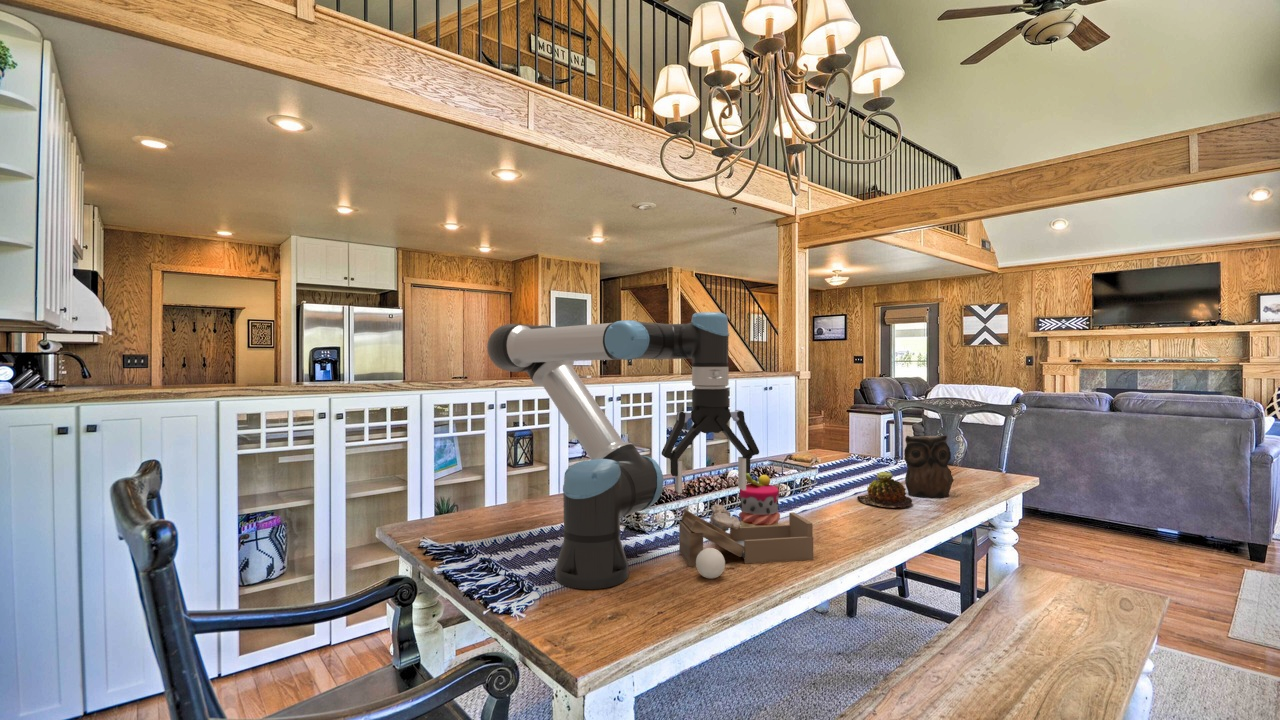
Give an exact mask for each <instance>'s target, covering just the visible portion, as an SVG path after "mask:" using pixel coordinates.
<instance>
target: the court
mask: <svg viewBox="0 0 1280 720" xmlns="http://www.w3.org/2000/svg"><path fill="white" fill-rule="evenodd" d="M788 514H789V515H788V516H789V517H788V520H789V521H788V523H789V524H778V525H772V526H753V527H741V526H740V527H739V528H738V529H734V528H729V534H731V535H732V538H731V539H732V540H733V541H735V542H737V543H739V544H741V545H743V546H744V547H745V550H744V552H743V554H742V556H741V557H742V559H744V560H743V562H744V564H745V565H746V564H748V565H749V564H761V563H763V564H764V563H776V562H777V563H778V562H779V563H780V562H793V561H794V562H795V561H797V562H798V561H809V560H810V561H811V560H814V536H813V522H811V521H809V520H808V519H805V518H804V517H803V516H801V515H799V514H797V512H789V513H788Z"/></svg>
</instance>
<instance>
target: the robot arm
mask: <svg viewBox="0 0 1280 720" xmlns="http://www.w3.org/2000/svg"><path fill="white" fill-rule="evenodd" d="M728 320H729V319H728V316H727V314H725V313H723V312H714V311H713V312H709V311H708V312H707V311H706V312H702V311H701V312H695V313H693V314H692V316H691V321H690V322H688V323H659V322H644V321H636V320H633V319H624V320H618V321H615V322H609V323H608V322H607V323H593V324H591V323H590V324H581V325H569V326H556V327H555V326H551V325H549V324H548V325H547V324H541V325H537V324H536V325H535V324H523V323H522V324H521V323H519V324H518V323H507V324H504V325H500V326H498V327H497V328H495V330H494V331H492V333H491V334H490V335H489V337H488V340H487V346H486V347H487V351H486V352H487V354H488V358H489V359H490V361H491V362H492V364H493V365H495V366H496V367H497V368H499V369H501V370H503V371H506V372H513V373H516V372H517V373H519V372H521V373H523V372H525V373H527V375H528V377H529V378H530V379H531V381H532V383H533V385H535V386H538V387H543V389H544V390H545V392H546V393H547V394H548V396H549V397H550V399H551V400H552V402H553V404H554V405H555V406H556V408H557V410H558V411H559V413H560V414H561V416H562V417H563V419H564V420H565V421H566V424H567V425H568V427H569V428H570V430H571V432H572V434H573V435H574V436H575V437H576V439H577V441H578V442H579V444H580V445H581V446H582V449H583V450H584V451H585V452H586V455H587V456H588V457H589V459H590V460H588V459H587V460H582V461H579V462H575V463H574V464H572V465H569V467H567V469H566V470H565V472H564V476H563V477H564V478H563V485H562V492H563V494H562V495H563V542H562V545H561V548H560V551H559V554H558V557H557V560H556V563H555V564H556V565H555V571H554V572H555V578H554V579H555V580H556V582H558V583H559V584H560V585H562V586H564V587H568V588H571V589H578V590H579V589H580V590H599V589H600V590H601V589H607V588H611V587H615V586H617V585H620V584H622V583H624V582H625V581H626V580H627V579H629V563H628V559H627V556H626V553H625V549H624V547H623V544H622V541H621V518H622V517H626V516H628V515H631V514H634V513H636V512H641V511H645V510H647V509H648V507H651V506H653V505H654V504H655V503H656V502H657V501H659V499H660V497H661V496H662V493H663V490H664V488H663V487H664V482H665V481H664V474H663V470H662V469H661V466H660V465H659V463H658V462H656V460H654V458H652V457H649V456H647V455H642V454H640V452H639V451H638V449H637V448H636V446H635V444H633V443H632V442H627V441H624V440H623V439H622V437H621V436H620V435H619V433H618V432H617V430H616V428H614V426H613V425H612V423H611V422H610V420H609V419H608V417H607V416H606V414H605V413H604V411H603V410H602V408H601V407H600V406H599V404H598V402H597V401H596V399H595V398H594V397H593V395H592V394H591V392H590V391H589V389H588V388H587V386H586V385H585V383H584V382H583V381H582V379H581V377H580V376H579V375H578V374H577V373H578V372H576V370H575V369H574V364H575V362H580V361H581V362H582V361H583V362H585V361H611V360H613V361H614V360H615V361H617V360H624V361H626V360H656V361H657V360H660V361H663V360H680V359H681V360H682V359H683V360H685V359H687V360H691V385H692V386H693V387H694V388H692V390H691V392H692V393H691V412H685V411H683V410H678V411H677V412H676V417H675V424H673V427H672V429H671V432H670V434H669V436H668V438H667V440H666V442H665V444H664V446H663V448H662V450H661V455H662V456H663V457H664V458H667V459H669V461H670V474H671V476H672V477H675V478H674V480H675V482H674V484H675V487H674V488H675V492H676V493H678V494H682V493H683V461H682V460H681V459H680V458H681V456H682V455H683V454H684V453H685V451H686V450H687V449H688V447H689V446H690V445H691V444H692V442H693V441H694V440H695V439H696V438H697V436H699V435H700V434H701V433H703V434H710V433H714V434H720V433H723V435H725V436H726V438H727V439H728V440H729V442H730V443H732V446H734V447H735V448H736V450H737V451H738V452H739V454H740V455H741V456H738V457H737V463H738V464H737V466H738V467H737V472H738V473H737V475H738V477H737V479H738V481H737V484H738V485H737V486H738V487H737V488H739V490H740V489H741V490H746V485H747V480H746V473H748V474H750V473H751V459H752V458H753V456H758V455H759V454H760V450H759V448H758V446H757V444H756V441H755V439H754V438H753V435H752V433H751V431H750V429H749V427H748V425H747V423H746V418H745V413H744V411H743V410H739V409H736V410H734V411H730V408H729V407H730V406H729V405H730V404H729V403H730V401H729V399H730V398H729V397H730V393H729V392H730V391H729V389H728V388H727V387H728V386H729V382H730V381H729V377H730V376H729V374H730V373H729V337H730V333H729V322H728ZM731 418H732V421H734V422H735V424H736V426H737V428H738V430H739V432H740V434H741V436H742V438H743V439H744V443H745V445H746V446H747V447H745V445H744V444H743V443H742V441H741V440H740V439H739V438H738V436H737V435H736V434H735V433H734V431H732V429H731V428H730V426H729V425H728V423H729V421H730V420H731ZM689 419H690V420H691V421H692V423H693V424H692V426H691V427H690V428H689V430H688V431H687V433H686V435H684V437H683V438H682V440H680V442H679V443H678V444H677V445H676V443H677V441H678V439H679V438H680V434H681V432H682V431H683V428H684V427H685V426H684V425H685V424H687V422H688V421H689ZM675 445H676V446H675Z"/></svg>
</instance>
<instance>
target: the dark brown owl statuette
mask: <svg viewBox="0 0 1280 720" xmlns="http://www.w3.org/2000/svg"><path fill="white" fill-rule="evenodd" d="M947 438H948V436H947V435H944V434H943V435H927V436H926V435H921V436H920V435H919V436H918V435H917V436H915V435H914V436H910V435H906V437H905V444H906V445H905V447H904V450H903V452H904V461H905V464H906V467H907V470H906V474H905V477H904V480H905V481H904V482H905V488H906V490H907V492H908V493H907V495H908V497H915V498H923V499H924V498H931V499H932V498H937V499H940V498H941V499H942V498H946V497H949V496H950V491H951V488H952V484H953V482H954V478H953V475H952V470H951V469H950V468H949V466H948V463H949V462H950V460H951V458H952V453H951V448H950V446H949V445H948V443H947V442H946V441H947Z"/></svg>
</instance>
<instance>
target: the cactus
mask: <svg viewBox="0 0 1280 720" xmlns="http://www.w3.org/2000/svg"><path fill="white" fill-rule="evenodd" d="M876 474H877V475H875V477H876V478H877V480H876V479H874V480H873V481H872V482H870V483H869V486H867V487H866V488H867V489H866V490H867V494H865V495H857V497H856V498H857V500H858V501H859V502H861V503H862V504H865V505H871V506H878V507H883V508H895V509H896V508H900V509H903V508H906V507H908V506H909V505H911V504H912V503H913V499H912V498H911V497H910V496H907V492H906V490H907V488H906V487H905V486H904V485H903V482H900V481H898V480H896V479H894V478H893V476H894V474H892V472H890V471H888V472H886V471H881V472H880V471H879V473H876Z"/></svg>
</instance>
